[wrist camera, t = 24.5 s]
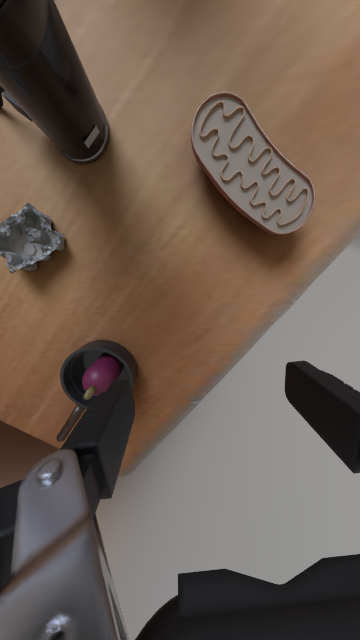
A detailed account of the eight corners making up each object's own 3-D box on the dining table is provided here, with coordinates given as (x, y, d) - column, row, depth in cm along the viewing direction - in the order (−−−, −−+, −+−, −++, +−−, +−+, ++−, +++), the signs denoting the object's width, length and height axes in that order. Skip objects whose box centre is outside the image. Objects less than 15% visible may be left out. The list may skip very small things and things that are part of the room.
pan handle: (66, 437, 41) (61, 444, 39) (58, 434, 41) (53, 441, 39) (89, 401, 39) (85, 407, 37) (82, 397, 38) (77, 403, 37)
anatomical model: (304, 210, 33) (327, 198, 28) (265, 253, 34) (280, 250, 29) (213, 107, 29) (221, 72, 24) (174, 162, 30) (174, 141, 25)
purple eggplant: (91, 361, 38) (59, 394, 28) (112, 347, 38) (87, 375, 27) (108, 380, 40) (84, 419, 29) (129, 367, 39) (111, 402, 28)
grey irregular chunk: (28, 276, 34) (9, 276, 30) (0, 239, 32) (-25, 234, 29) (72, 247, 33) (58, 243, 29) (46, 207, 31) (27, 198, 27)
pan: (62, 377, 40) (48, 390, 35) (91, 326, 37) (80, 333, 33) (117, 406, 42) (111, 421, 38) (149, 360, 39) (146, 371, 35)
